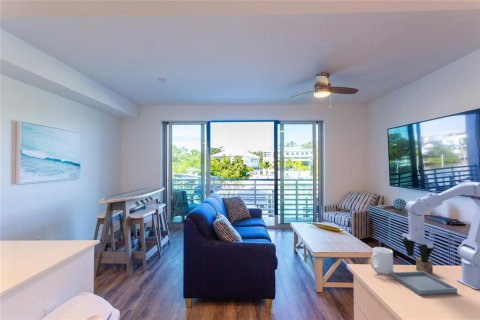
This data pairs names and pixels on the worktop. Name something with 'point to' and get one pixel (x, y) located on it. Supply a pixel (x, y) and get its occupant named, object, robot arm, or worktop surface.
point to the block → (424, 265)
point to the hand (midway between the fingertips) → (417, 258)
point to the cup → (382, 260)
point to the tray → (423, 283)
